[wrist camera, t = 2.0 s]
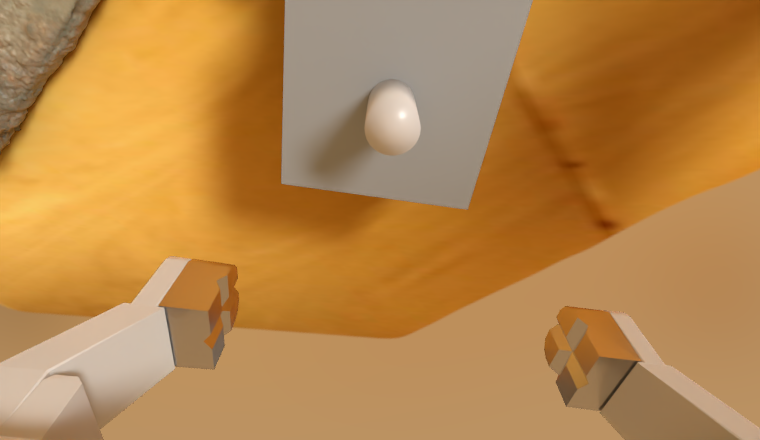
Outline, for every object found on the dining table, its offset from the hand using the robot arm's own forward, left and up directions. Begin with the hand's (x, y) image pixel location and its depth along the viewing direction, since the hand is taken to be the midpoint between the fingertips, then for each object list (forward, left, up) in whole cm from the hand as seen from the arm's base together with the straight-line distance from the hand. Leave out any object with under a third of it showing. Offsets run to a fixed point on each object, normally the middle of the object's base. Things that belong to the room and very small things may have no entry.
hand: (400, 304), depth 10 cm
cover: (0, 0, -30) cm, 31 cm away
